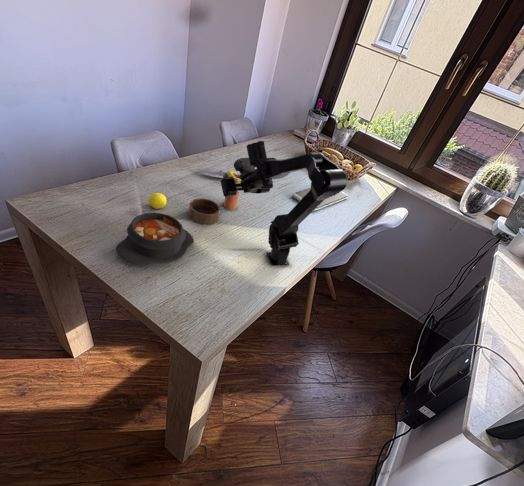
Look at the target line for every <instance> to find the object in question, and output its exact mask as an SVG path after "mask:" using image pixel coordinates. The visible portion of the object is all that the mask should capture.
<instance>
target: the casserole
mask: <svg viewBox="0 0 524 486" xmlns="http://www.w3.org/2000/svg"><path fill="white" fill-rule="evenodd" d="M126 233H127V235H126V237H125V238H124V239H123V240H122V241H120V242H119V243H117V245H116V246H115V252H116V254H117V255H118V257H119V258H120V259H121V260H123V261H124V262H126V263H128V264H130V265H132V266H136V267H146V266H150V265H158V264H159V265H160V264H168V263H173V262H175V261H178V260H180V259H181V258H182V257H184V256H185V255H186V253H187V252H188V249H189V248H190V247H191V246H192V245H193V244H194V242H195V240H194V237H193V236H192V234H191V233H190V232H189V231H187V230H186V229H184V227H183V225H182V223H181V222H180V221H179V220H178V219H177V218H175V217H173V216H171V215H170V214H165V213H161V212H144V213H142V214H139V215H137V216H135V217H133V219H132V220H131V222H130V223H129V225H128V226H127V229H126Z"/></svg>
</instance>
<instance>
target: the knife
mask: <svg viewBox="0 0 524 486" xmlns="http://www.w3.org/2000/svg"><path fill="white" fill-rule="evenodd" d="M196 170H197V171H198V172H200V173H203V174H204V175H207V176H210V177H213V178H214V177H215V178H220V179H222V178H223V177H233V178H237V179H238V183H239V184H240V182H241V179H240V178H239V175H240V174H238V173H237V171H236V170H235V171H234V170H228V171H223V170H219V171H209V170H204V169H201V168H198V167H196Z"/></svg>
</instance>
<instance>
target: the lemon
mask: <svg viewBox="0 0 524 486" xmlns="http://www.w3.org/2000/svg"><path fill="white" fill-rule="evenodd" d="M148 204H149V205H150V207H151V208H152V209H155V210H159V209H163V208H164V207H165V206H166V205H167V197H166V196H165V195H164V194H163V193H161V192H155V193H152V194H151V195H149V197H148Z"/></svg>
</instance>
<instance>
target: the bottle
mask: <svg viewBox="0 0 524 486" xmlns="http://www.w3.org/2000/svg"><path fill="white" fill-rule="evenodd" d="M234 181H235V184H240V183H238V179H237V178H234ZM239 194H240V191H237V194H236V195H235V196H232V197H225V196H224V199H223V206H224V208H226V209H228V210H235V209H236V208H237V204H238V199H239Z"/></svg>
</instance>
